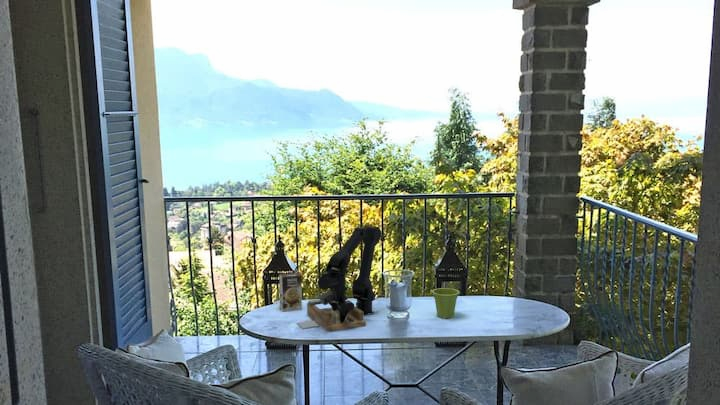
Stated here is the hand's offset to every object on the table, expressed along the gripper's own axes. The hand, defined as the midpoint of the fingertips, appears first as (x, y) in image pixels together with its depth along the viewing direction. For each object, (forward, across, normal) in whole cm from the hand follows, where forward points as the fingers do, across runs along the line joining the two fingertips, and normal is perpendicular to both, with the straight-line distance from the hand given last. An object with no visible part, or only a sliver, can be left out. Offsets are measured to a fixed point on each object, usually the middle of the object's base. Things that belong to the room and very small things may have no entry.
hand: (339, 320), depth 252 cm
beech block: (+1, 0, 0) cm, 1 cm away
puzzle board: (+1, -4, 0) cm, 4 cm away
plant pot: (+1, +12, +46) cm, 48 cm away
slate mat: (+1, -3, -13) cm, 13 cm away
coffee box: (+1, -28, -12) cm, 30 cm away
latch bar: (-5, -13, 0) cm, 14 cm away
